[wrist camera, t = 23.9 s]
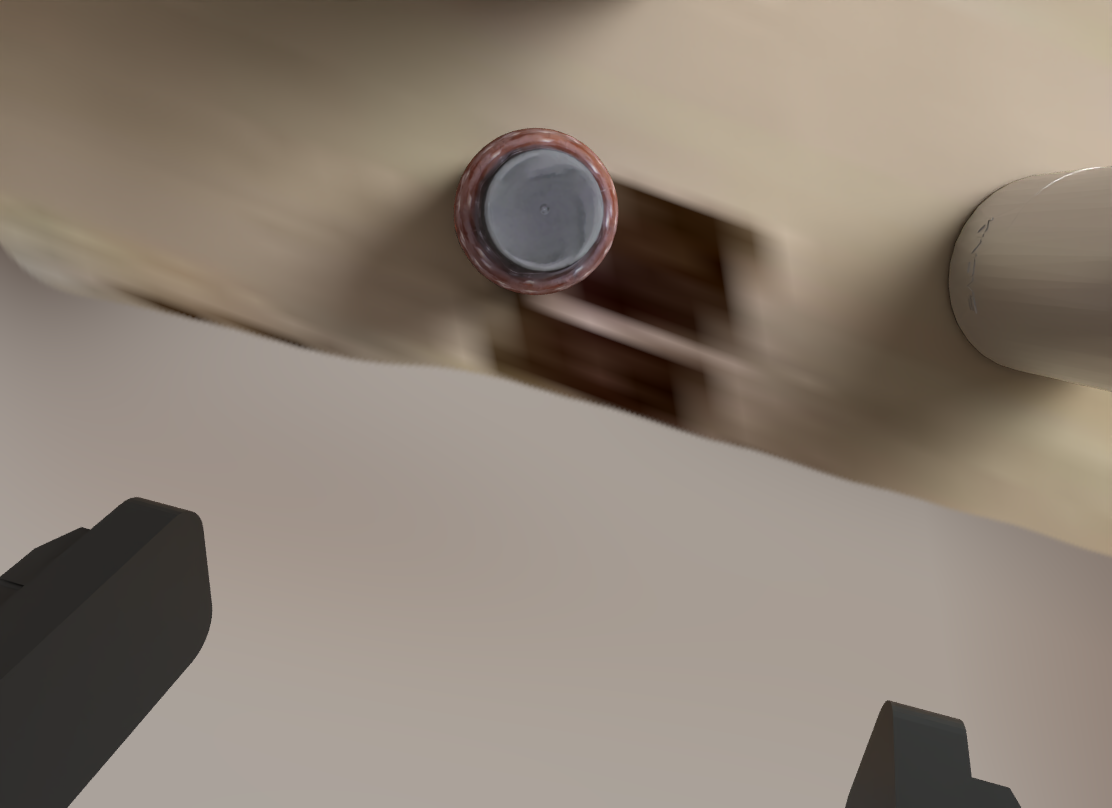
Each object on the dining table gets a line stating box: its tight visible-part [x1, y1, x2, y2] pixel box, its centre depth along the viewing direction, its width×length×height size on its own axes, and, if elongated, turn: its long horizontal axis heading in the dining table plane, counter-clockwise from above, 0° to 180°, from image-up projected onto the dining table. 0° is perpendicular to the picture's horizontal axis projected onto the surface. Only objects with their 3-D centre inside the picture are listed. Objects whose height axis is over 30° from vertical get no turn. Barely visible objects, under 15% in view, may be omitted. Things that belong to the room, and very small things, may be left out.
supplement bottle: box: [454, 128, 618, 295], centre depth 37 cm, size 6×6×11 cm
